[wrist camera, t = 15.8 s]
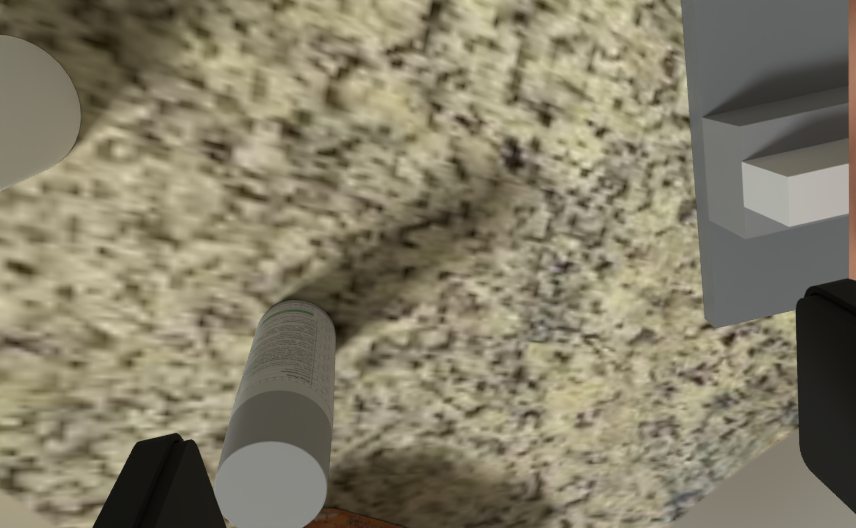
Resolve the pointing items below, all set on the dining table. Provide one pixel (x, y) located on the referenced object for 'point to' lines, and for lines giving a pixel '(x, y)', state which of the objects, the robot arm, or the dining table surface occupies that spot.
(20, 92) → the cylindrical container
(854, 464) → the robot arm
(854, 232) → the beam
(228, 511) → the container
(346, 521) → the tin
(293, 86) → the dining table surface
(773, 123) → the ridge stand
